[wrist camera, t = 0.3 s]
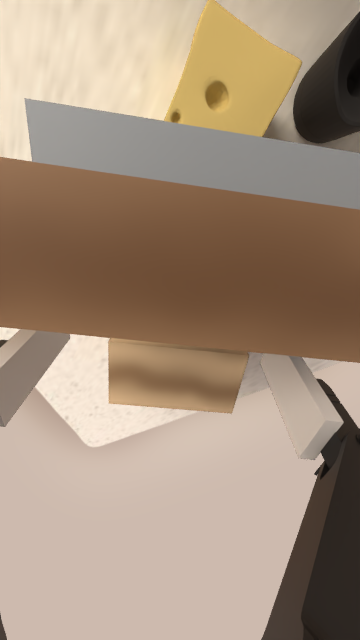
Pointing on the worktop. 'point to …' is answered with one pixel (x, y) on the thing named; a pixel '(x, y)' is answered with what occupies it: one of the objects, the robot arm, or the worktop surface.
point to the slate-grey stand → (191, 155)
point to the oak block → (174, 375)
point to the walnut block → (176, 263)
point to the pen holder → (331, 90)
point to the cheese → (231, 77)
